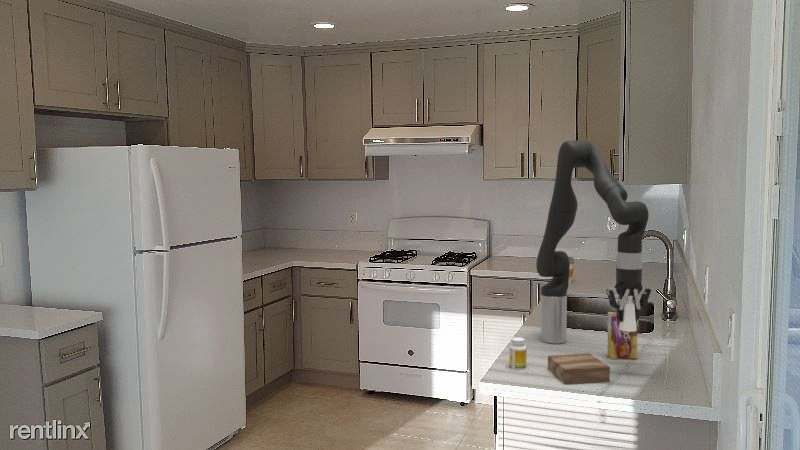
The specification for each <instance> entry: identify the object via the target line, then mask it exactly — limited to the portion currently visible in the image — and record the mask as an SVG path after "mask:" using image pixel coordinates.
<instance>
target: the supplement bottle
mask: <svg viewBox="0 0 800 450" xmlns="http://www.w3.org/2000/svg"><path fill="white" fill-rule="evenodd" d="M525 341H526V340H525V338H524V337H512V339H511V344H510V346H509V363H508V364H509V366H510V367H511V368H510V367H509V368H510V369H512V370H517V371H518V370H521V371H522V370H525V369H527V351H528V350H527V349H528V348H527V346H526V345H525V343H526V342H525Z"/></svg>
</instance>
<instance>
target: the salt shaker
mask: <svg viewBox="0 0 800 450" xmlns="http://www.w3.org/2000/svg"><path fill="white" fill-rule="evenodd" d="M627 297H628V299H627V300H626V303H625V304H624V307H623V310H624V313H623V322H620V325H619V330H622V331H626V332H634V331H636V329H637V330H638V327H637V328H636V318H635V304H634V303H633V299H632V298H633V296H627Z"/></svg>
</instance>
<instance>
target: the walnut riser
mask: <svg viewBox="0 0 800 450" xmlns="http://www.w3.org/2000/svg"><path fill="white" fill-rule="evenodd" d="M547 370H548V371H549V370H550V371H551V372H552V373H551V374H553V375H554V377H556V378H557V379H558V380H559V381H560V382H562V383H563V385H582V384H596V383H597V384H599V383H610V381H611V380H610V377H611V375H610V372H611V366H609V365H608V364H606V363H605V362H603V361H602V360H600V359H599V358H597V357H596V356H594V355H592V353H574V354H573V353H572V354H555V355H547ZM550 371H549V372H550Z"/></svg>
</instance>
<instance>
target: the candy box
mask: <svg viewBox="0 0 800 450" xmlns="http://www.w3.org/2000/svg"><path fill="white" fill-rule="evenodd" d="M616 316H617V311H615V312H614V311H613V312H612V311H608V312H607V357H608V358H610V359H611V360H623V359H625V360H627V359H629V360H631V359H632V360H633V359H638V321H636V328H637V329H636V331H634V332H626V331H622V330H619V325H620V321H618V319H617V318H616Z"/></svg>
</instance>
